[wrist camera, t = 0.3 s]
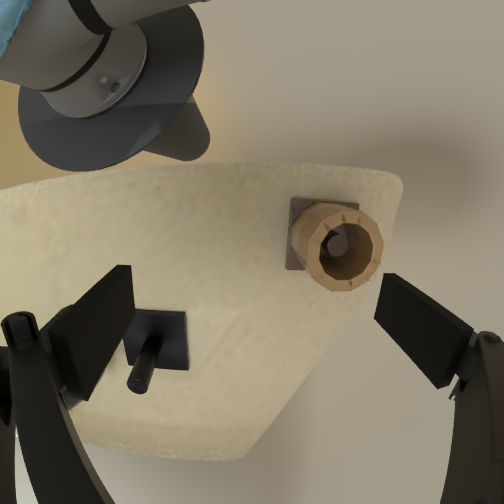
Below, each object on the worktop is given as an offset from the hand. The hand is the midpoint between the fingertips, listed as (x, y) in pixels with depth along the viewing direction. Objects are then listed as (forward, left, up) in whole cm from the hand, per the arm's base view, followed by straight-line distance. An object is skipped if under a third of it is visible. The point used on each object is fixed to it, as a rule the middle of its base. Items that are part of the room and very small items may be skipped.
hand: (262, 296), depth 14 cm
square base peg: (+16, -12, -20) cm, 28 cm away
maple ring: (+1, +9, -19) cm, 21 cm away
